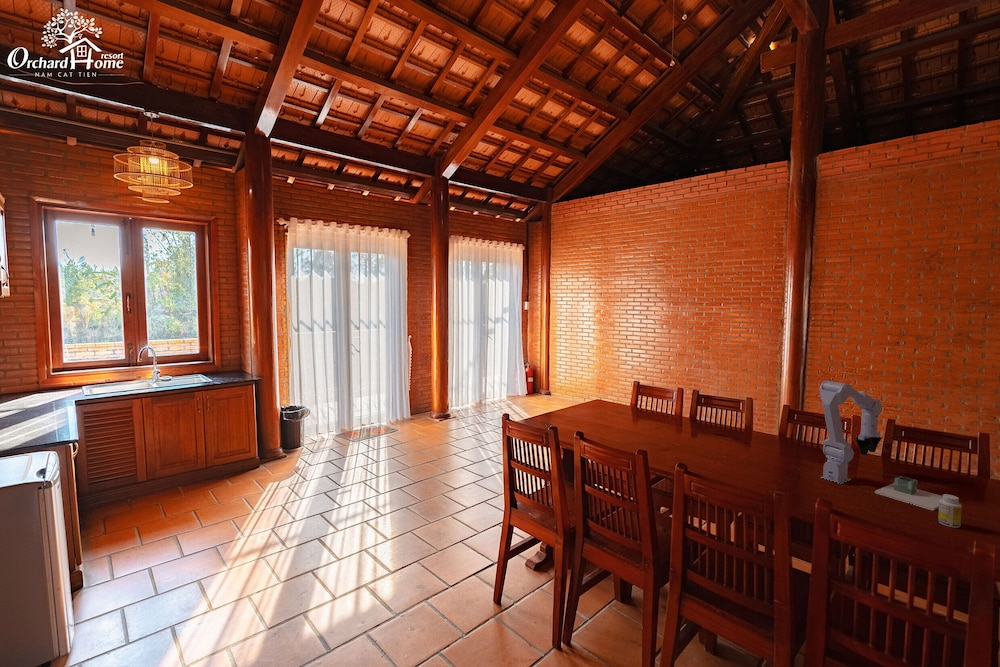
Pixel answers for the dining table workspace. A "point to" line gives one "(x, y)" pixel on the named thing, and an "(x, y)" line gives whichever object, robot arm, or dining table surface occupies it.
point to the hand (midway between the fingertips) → (867, 453)
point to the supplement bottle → (950, 511)
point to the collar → (905, 485)
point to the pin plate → (912, 497)
